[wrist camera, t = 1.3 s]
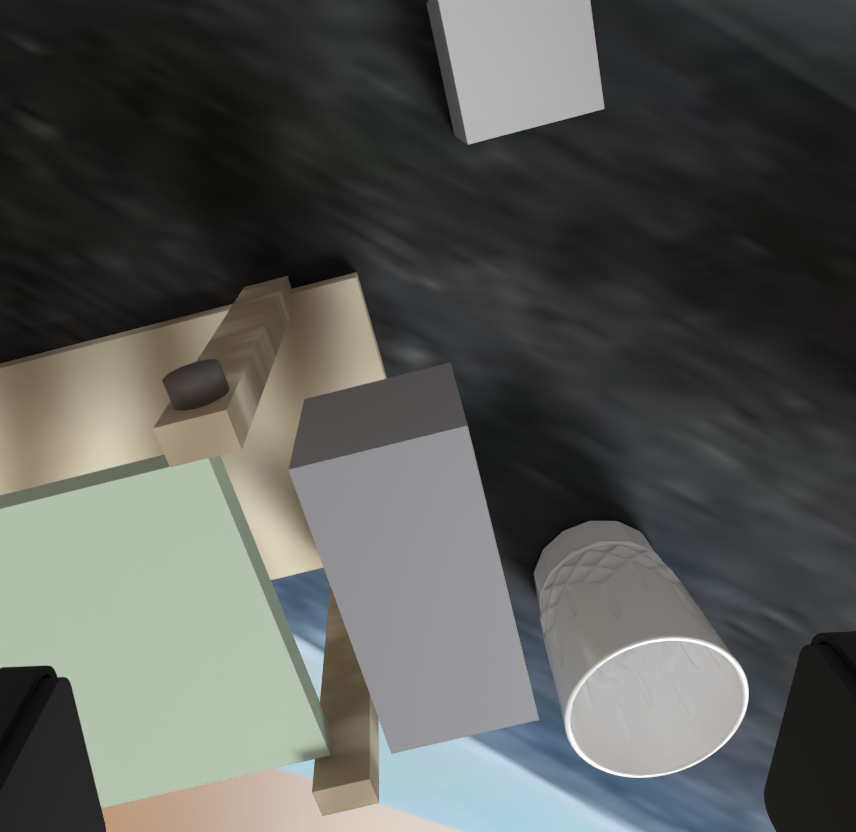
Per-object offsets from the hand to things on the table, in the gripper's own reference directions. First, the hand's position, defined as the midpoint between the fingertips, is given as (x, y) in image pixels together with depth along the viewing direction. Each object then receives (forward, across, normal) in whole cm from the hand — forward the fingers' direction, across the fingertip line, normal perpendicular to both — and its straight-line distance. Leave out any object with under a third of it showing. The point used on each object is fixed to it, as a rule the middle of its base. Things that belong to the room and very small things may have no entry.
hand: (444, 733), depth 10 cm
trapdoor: (+16, +6, +8) cm, 19 cm away
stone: (+26, -4, -9) cm, 28 cm away
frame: (+26, +10, +9) cm, 29 cm away
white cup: (+26, -11, +16) cm, 33 cm away
